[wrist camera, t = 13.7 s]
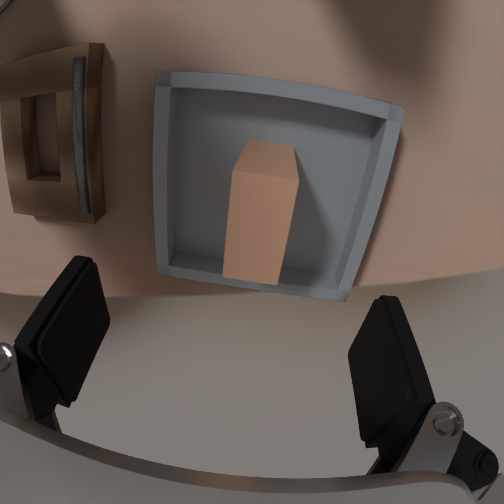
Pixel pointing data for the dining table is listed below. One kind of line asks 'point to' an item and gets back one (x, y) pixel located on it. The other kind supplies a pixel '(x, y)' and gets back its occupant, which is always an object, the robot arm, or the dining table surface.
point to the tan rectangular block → (260, 212)
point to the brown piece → (68, 133)
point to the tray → (308, 166)
